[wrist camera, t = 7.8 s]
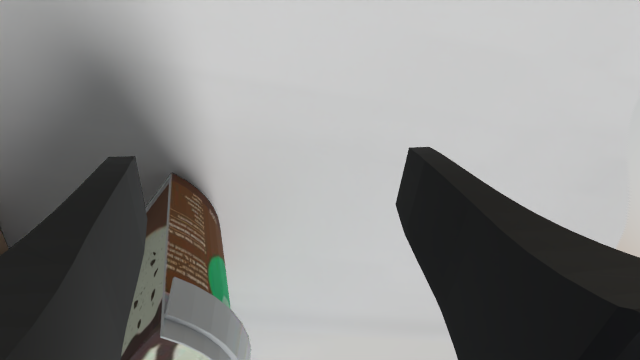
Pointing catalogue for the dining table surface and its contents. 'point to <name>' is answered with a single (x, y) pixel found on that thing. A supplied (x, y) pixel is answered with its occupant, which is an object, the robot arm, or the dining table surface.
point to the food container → (183, 284)
